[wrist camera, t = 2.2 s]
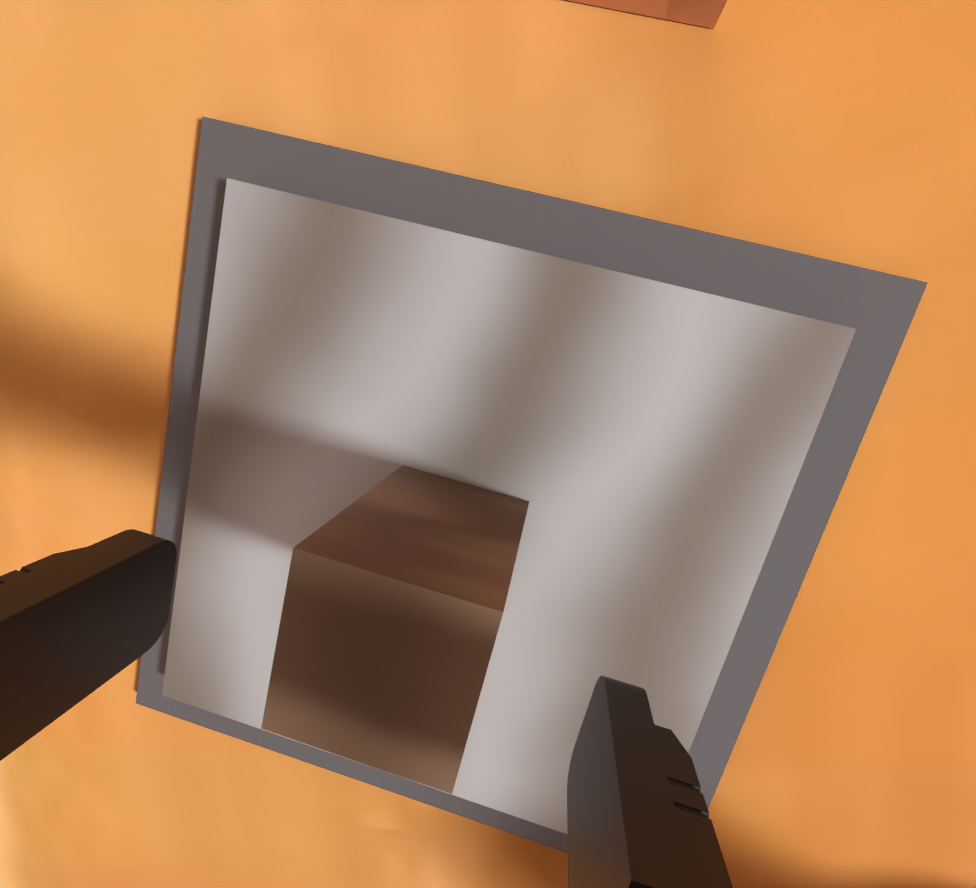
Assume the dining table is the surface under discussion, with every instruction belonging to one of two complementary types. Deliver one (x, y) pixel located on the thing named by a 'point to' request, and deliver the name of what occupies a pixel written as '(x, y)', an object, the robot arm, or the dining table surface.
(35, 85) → the dining table surface
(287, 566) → the lid
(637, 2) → the pink storage bin
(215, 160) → the mat
